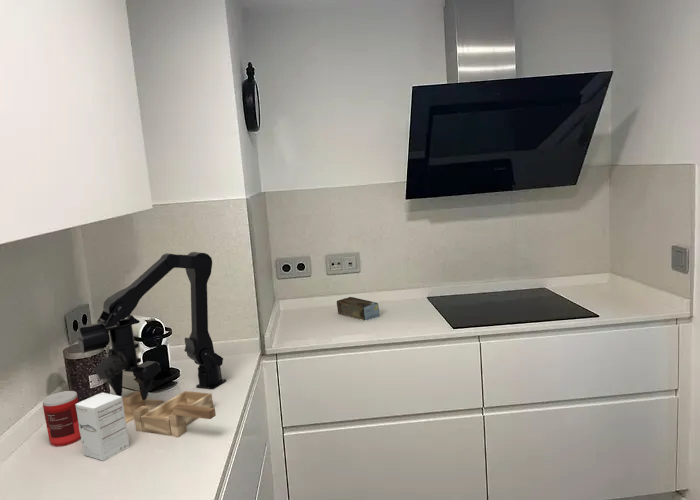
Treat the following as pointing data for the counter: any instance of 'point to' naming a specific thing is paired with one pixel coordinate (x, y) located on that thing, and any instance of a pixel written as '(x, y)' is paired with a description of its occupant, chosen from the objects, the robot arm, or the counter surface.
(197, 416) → the brown wooden bar
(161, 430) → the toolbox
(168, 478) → the counter surface
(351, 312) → the beverage carton
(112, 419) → the supplement box
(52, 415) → the canned food
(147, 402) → the lid
